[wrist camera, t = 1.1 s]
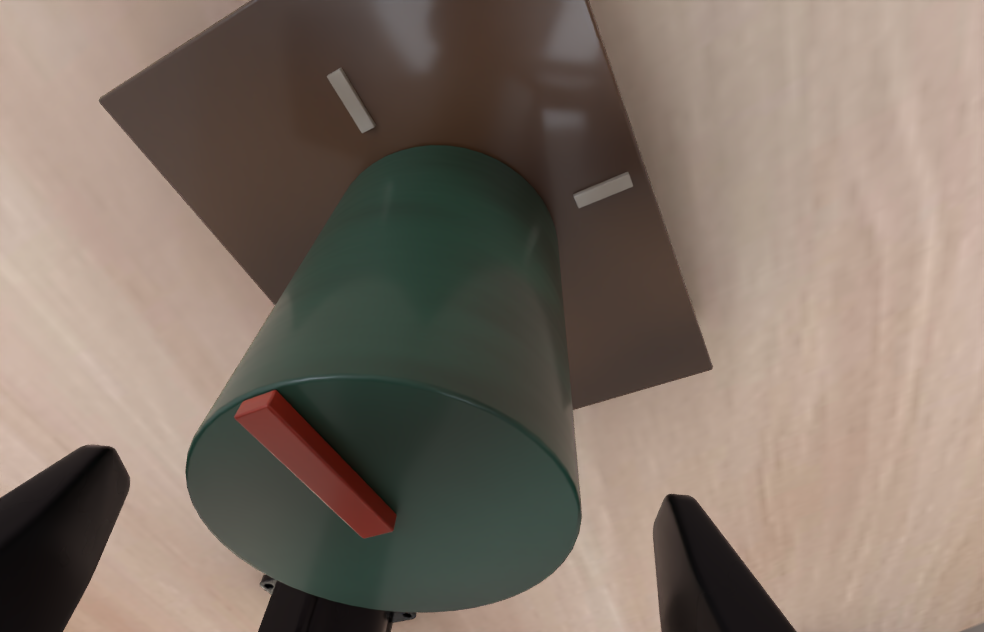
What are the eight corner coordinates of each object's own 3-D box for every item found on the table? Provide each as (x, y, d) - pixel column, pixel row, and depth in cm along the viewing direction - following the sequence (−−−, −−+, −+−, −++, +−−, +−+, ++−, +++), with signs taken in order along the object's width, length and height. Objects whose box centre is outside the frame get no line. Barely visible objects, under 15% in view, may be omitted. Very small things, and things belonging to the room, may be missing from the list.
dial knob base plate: (694, 320, 19) (715, 373, 17) (418, 408, 22) (406, 463, 20) (527, -166, 12) (528, -180, 10) (153, 73, 15) (90, 102, 13)
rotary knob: (590, 300, 16) (638, 598, 9) (408, 363, 17) (335, 651, 11) (498, 100, 12) (465, 330, 6) (287, 203, 14) (78, 468, 8)
